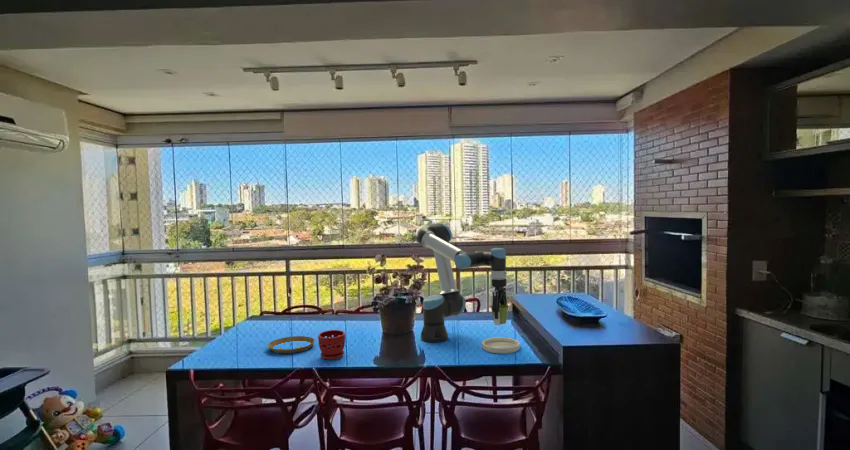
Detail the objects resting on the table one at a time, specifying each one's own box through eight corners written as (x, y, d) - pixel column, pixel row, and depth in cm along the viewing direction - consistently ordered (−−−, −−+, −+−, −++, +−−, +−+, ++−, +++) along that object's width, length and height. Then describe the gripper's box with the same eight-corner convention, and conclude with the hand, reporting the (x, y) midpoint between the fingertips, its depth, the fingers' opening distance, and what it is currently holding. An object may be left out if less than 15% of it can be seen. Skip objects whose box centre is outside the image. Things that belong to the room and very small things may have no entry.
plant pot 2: (509, 325, 220) (508, 308, 220) (490, 325, 222) (489, 308, 222) (509, 321, 230) (509, 304, 229) (491, 320, 231) (490, 304, 231)
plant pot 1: (314, 357, 220) (313, 333, 220) (336, 351, 229) (335, 328, 229) (328, 363, 211) (327, 338, 210) (351, 356, 220) (350, 332, 220)
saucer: (476, 350, 223) (476, 345, 223) (489, 340, 239) (489, 335, 239) (513, 355, 213) (512, 350, 213) (524, 344, 230) (524, 339, 230)
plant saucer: (324, 345, 242) (324, 339, 242) (290, 358, 221) (290, 351, 221) (293, 339, 254) (292, 334, 254) (258, 351, 234) (258, 345, 233)
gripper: (498, 282, 214) (500, 328, 215) (512, 275, 233) (513, 318, 233) (484, 281, 218) (485, 327, 219) (498, 275, 236) (500, 317, 237)
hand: (500, 322), depth 226 cm, fingers closed on plant pot 2, 8 cm apart
